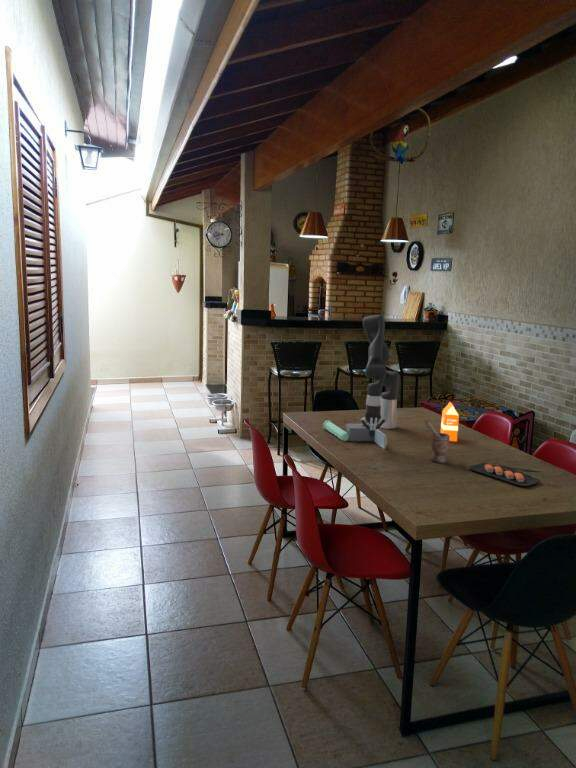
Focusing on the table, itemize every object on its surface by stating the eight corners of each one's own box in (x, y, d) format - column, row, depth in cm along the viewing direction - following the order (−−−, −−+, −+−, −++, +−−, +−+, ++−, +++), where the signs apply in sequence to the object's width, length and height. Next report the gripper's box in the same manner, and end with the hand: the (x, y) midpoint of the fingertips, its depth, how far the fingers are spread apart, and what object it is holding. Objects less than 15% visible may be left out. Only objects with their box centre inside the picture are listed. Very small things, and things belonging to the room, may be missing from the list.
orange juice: (453, 437, 320) (457, 402, 316) (456, 441, 311) (460, 405, 308) (439, 436, 321) (442, 401, 317) (442, 440, 312) (445, 404, 308)
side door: (373, 441, 305) (374, 427, 304) (376, 440, 305) (377, 427, 304) (383, 448, 291) (384, 435, 290) (386, 448, 291) (387, 435, 290)
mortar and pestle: (426, 463, 271) (429, 422, 267) (420, 457, 279) (423, 418, 276) (449, 463, 272) (453, 422, 268) (443, 458, 280) (447, 418, 277)
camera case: (370, 436, 315) (371, 422, 314) (374, 441, 305) (375, 426, 304) (345, 435, 314) (346, 421, 312) (349, 441, 304) (350, 426, 302)
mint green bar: (349, 430, 302) (330, 418, 325) (339, 435, 301) (321, 422, 324) (352, 440, 304) (333, 427, 327) (342, 444, 303) (324, 431, 326)
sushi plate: (465, 471, 264) (466, 463, 263) (502, 460, 282) (503, 453, 281) (524, 490, 241) (525, 482, 240) (560, 478, 259) (561, 470, 258)
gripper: (384, 402, 293) (382, 434, 297) (359, 402, 292) (357, 434, 295) (388, 405, 286) (386, 439, 289) (362, 405, 284) (360, 439, 288)
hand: (371, 436), depth 292 cm, fingers closed
